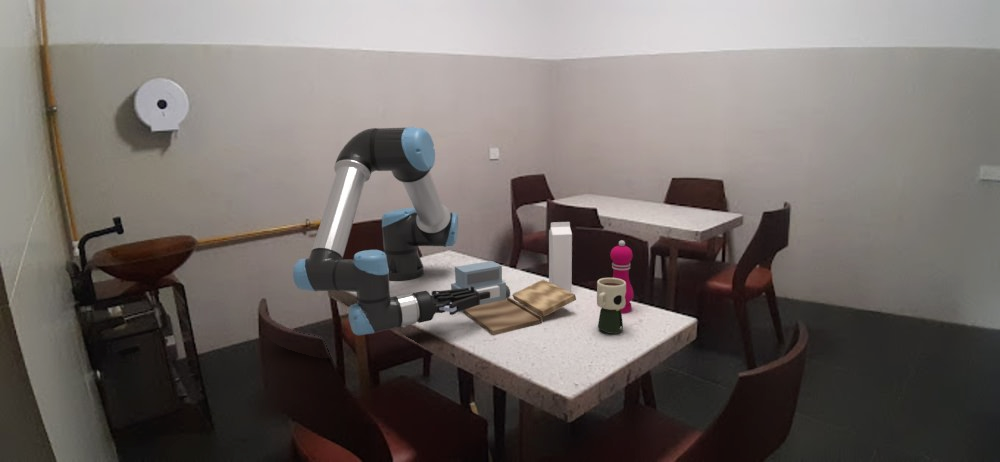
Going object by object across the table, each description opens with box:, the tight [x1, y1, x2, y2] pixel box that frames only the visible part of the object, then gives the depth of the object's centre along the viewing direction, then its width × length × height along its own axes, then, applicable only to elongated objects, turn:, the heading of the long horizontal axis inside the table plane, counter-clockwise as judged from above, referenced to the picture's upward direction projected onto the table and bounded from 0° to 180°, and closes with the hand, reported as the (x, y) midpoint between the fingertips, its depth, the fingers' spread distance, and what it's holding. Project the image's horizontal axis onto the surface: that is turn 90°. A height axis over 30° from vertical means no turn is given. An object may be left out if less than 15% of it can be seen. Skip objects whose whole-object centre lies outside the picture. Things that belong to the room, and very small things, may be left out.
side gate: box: [512, 279, 577, 317], centre depth 146 cm, size 16×2×11 cm
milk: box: [548, 221, 573, 293], centre depth 159 cm, size 6×6×22 cm
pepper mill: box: [609, 239, 634, 314], centre depth 143 cm, size 7×7×20 cm
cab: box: [450, 260, 511, 313], centre depth 150 cm, size 8×19×12 cm, turn 119°
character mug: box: [596, 277, 626, 334], centre depth 129 cm, size 11×7×13 cm, turn 138°
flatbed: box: [462, 297, 543, 336], centre depth 140 cm, size 18×15×2 cm
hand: (498, 290), depth 137 cm, fingers closed
